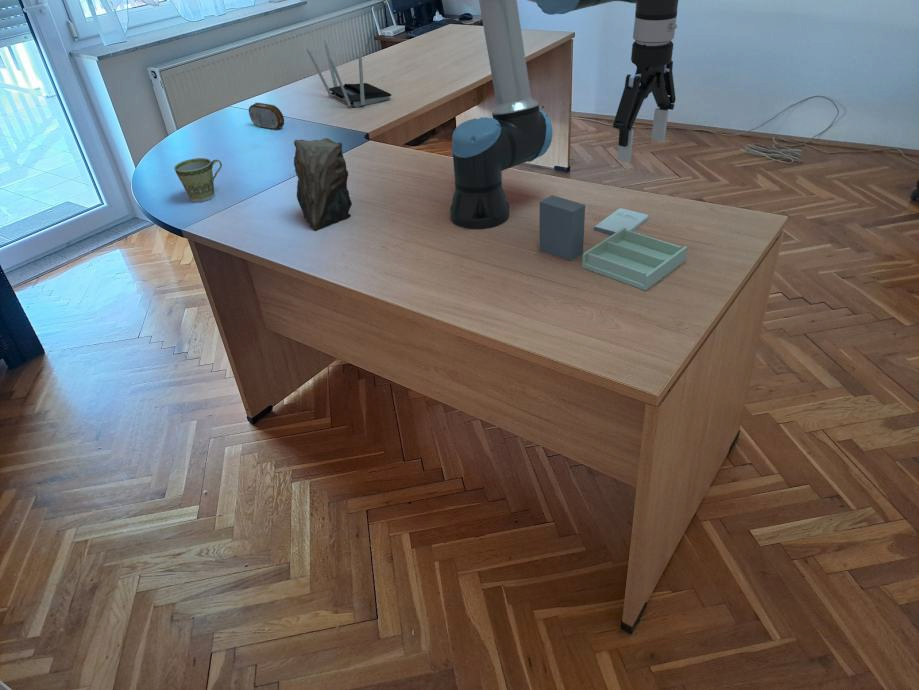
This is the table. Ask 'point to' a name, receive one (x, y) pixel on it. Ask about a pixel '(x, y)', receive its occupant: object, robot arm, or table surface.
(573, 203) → the blue-grey rectangular block
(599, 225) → the external hard drive
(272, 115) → the tin
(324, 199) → the rock
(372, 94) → the wireless router
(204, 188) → the ceramic cup
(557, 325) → the table surface
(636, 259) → the green divided tray
